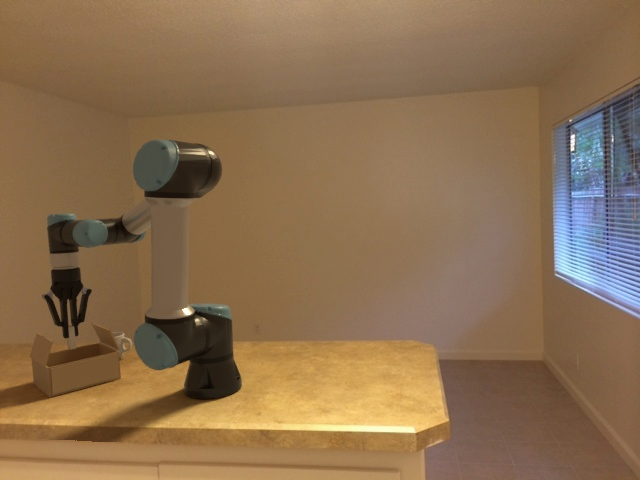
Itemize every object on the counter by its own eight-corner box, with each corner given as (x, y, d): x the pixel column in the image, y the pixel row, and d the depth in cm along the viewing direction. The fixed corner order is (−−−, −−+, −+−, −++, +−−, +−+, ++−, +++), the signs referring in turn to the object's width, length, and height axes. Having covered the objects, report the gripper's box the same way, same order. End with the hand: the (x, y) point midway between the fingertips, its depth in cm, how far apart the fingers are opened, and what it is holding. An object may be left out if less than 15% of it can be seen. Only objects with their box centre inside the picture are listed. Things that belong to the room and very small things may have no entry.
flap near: (45, 366, 132) (53, 341, 133) (43, 366, 132) (51, 341, 133) (31, 356, 142) (38, 333, 144) (29, 356, 142) (36, 332, 143)
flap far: (120, 349, 145) (110, 329, 143) (118, 350, 145) (109, 330, 143) (101, 341, 156) (92, 322, 154) (100, 341, 156) (91, 323, 154)
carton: (121, 379, 145) (119, 352, 144) (50, 398, 132) (48, 368, 131) (100, 366, 157) (98, 342, 157) (33, 383, 144) (30, 356, 144)
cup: (138, 354, 170) (136, 331, 169) (126, 361, 162) (125, 337, 161) (108, 354, 171) (106, 332, 170) (95, 362, 163) (93, 338, 162)
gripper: (85, 264, 149) (90, 341, 150) (36, 269, 140) (43, 351, 141) (93, 265, 143) (99, 345, 145) (44, 271, 134) (50, 356, 136)
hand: (71, 348), depth 143 cm, fingers closed
